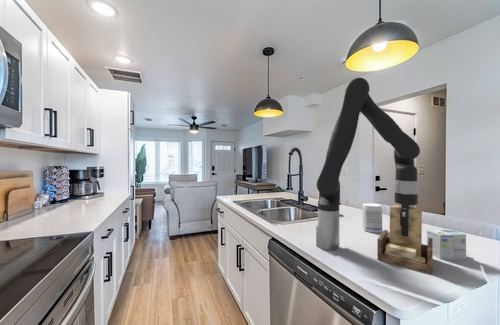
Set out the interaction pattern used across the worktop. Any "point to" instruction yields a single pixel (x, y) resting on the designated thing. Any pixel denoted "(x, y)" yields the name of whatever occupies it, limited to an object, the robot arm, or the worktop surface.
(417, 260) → the pine offcut bottom
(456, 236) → the light bulb box
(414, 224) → the oak board
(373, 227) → the supplement tub
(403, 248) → the pine offcut top
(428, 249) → the rack
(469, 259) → the worktop surface
